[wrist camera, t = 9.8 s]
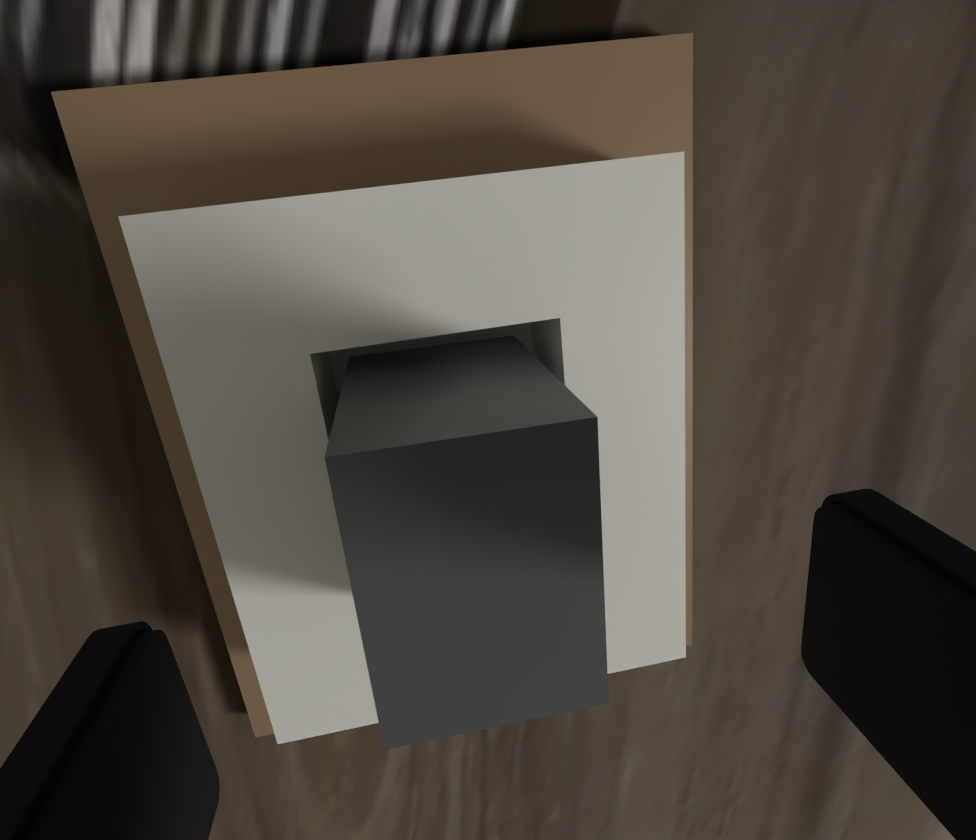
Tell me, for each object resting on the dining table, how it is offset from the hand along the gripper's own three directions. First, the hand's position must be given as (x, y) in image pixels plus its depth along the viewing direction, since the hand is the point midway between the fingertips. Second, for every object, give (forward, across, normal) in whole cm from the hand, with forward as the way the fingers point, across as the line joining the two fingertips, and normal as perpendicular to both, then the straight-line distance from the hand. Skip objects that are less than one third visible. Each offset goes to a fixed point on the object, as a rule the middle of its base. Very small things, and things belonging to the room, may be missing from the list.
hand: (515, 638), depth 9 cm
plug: (+10, 0, +1) cm, 10 cm away
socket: (+11, 0, +1) cm, 11 cm away
